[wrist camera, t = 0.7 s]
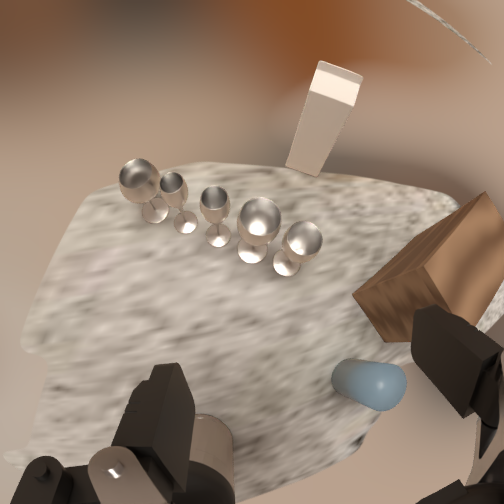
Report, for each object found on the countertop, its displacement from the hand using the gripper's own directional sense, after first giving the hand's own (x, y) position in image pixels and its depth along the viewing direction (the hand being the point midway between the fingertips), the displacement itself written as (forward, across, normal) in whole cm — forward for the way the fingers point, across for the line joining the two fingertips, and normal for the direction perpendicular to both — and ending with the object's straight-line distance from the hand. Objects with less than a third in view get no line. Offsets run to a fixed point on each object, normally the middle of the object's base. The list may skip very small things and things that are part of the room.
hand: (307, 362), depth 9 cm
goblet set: (+38, -6, -2) cm, 38 cm away
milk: (+45, +12, +7) cm, 47 cm away
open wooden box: (+34, +24, -16) cm, 44 cm away
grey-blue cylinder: (+27, +10, -26) cm, 38 cm away
